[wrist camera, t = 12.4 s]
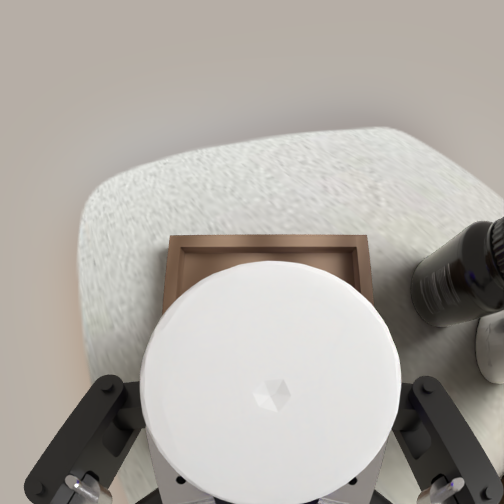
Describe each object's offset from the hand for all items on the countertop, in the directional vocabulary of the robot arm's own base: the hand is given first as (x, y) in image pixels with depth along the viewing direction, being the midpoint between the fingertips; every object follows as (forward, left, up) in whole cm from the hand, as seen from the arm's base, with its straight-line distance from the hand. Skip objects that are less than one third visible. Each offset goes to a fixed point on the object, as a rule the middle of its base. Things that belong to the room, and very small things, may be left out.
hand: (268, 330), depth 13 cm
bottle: (0, +2, -8) cm, 9 cm away
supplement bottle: (-16, -3, -10) cm, 19 cm away
